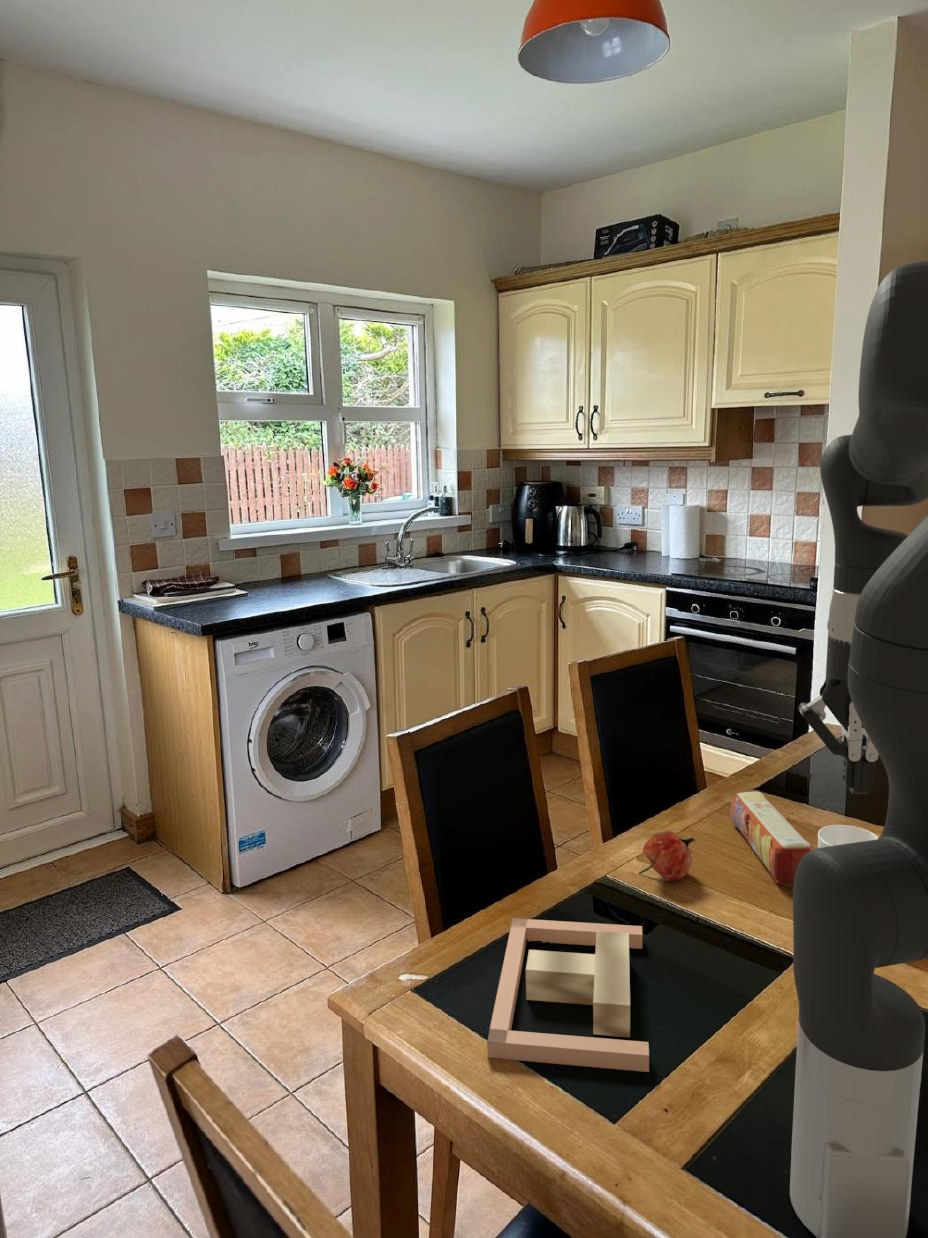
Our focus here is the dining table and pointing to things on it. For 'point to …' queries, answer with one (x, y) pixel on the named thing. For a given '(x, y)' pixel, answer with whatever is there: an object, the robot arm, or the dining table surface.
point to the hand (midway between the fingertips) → (857, 790)
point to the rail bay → (554, 1045)
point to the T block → (587, 981)
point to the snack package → (769, 835)
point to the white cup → (843, 835)
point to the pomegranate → (668, 855)
